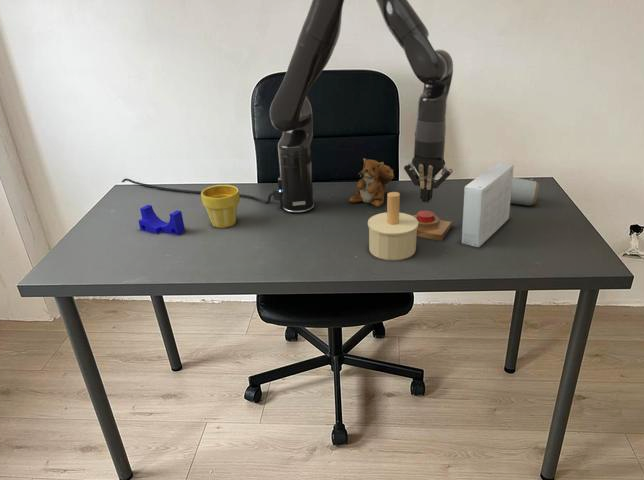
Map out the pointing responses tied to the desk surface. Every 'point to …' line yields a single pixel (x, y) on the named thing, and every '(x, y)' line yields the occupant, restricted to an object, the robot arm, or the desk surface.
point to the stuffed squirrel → (373, 183)
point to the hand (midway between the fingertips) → (425, 201)
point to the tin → (392, 245)
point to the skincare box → (486, 204)
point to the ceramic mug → (523, 191)
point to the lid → (393, 219)
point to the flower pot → (221, 204)
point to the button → (425, 216)
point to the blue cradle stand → (160, 222)
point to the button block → (433, 228)
